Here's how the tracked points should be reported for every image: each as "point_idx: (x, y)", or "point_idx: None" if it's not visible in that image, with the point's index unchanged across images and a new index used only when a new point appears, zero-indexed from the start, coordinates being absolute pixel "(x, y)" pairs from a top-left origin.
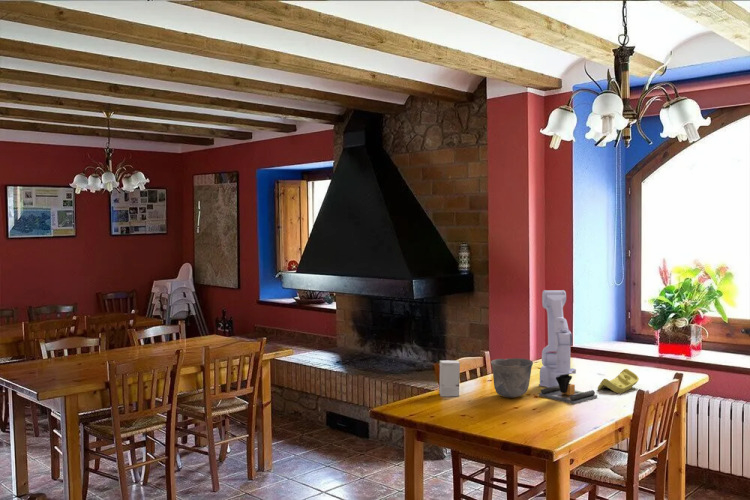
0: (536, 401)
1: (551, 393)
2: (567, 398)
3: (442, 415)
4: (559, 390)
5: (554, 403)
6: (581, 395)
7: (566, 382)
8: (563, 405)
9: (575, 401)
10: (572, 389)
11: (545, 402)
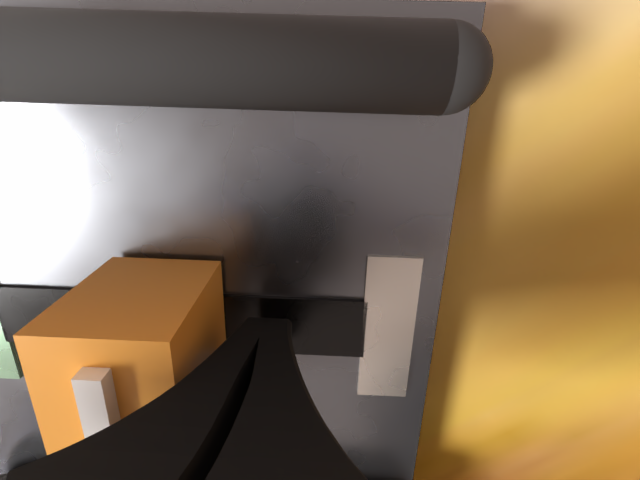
0: (630, 408)
1: None
2: (388, 191)
3: None
4: None
5: (596, 233)
6: (224, 14)
7: (255, 423)
8: (632, 85)
9: (442, 2)
10: (131, 294)
11: (614, 328)
